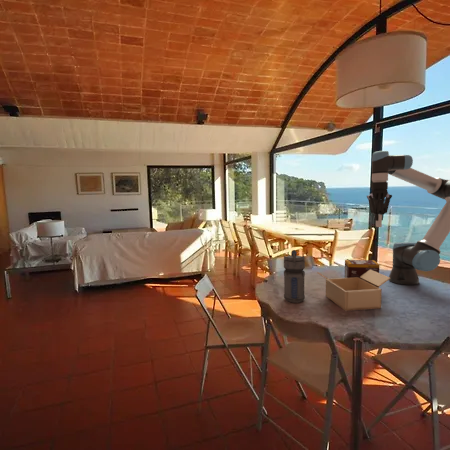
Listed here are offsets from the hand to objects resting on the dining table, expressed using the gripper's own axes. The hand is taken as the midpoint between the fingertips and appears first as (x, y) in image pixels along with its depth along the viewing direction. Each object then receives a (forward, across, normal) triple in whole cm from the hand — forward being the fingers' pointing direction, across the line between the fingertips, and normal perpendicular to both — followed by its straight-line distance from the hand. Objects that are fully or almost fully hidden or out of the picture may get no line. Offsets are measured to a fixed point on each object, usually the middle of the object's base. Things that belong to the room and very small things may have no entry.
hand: (378, 226), depth 158 cm
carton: (+34, +22, +14) cm, 43 cm away
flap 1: (+25, +30, +14) cm, 42 cm away
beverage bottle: (+35, +48, +6) cm, 59 cm away
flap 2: (+25, +14, +14) cm, 32 cm away
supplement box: (+35, +8, -2) cm, 36 cm away
